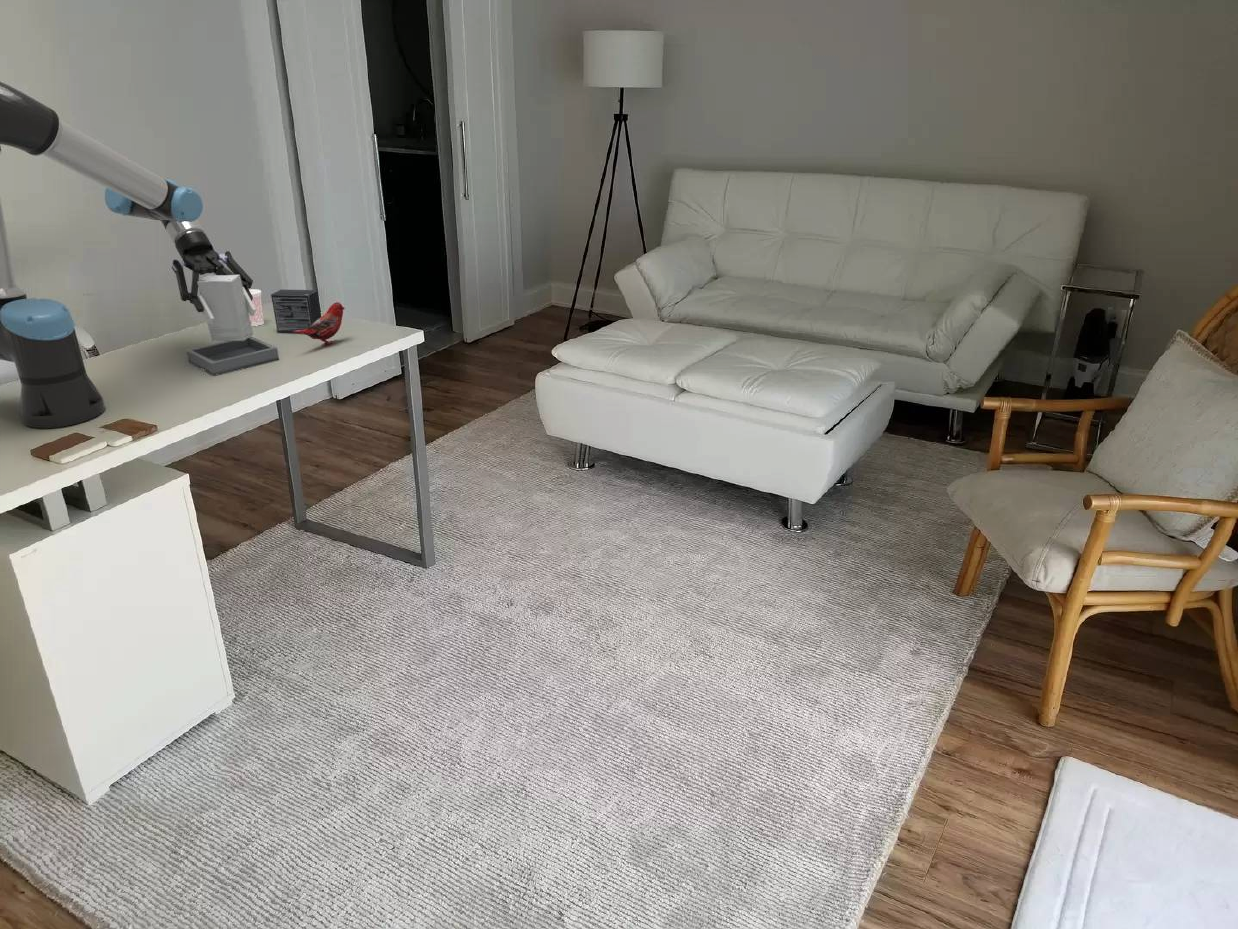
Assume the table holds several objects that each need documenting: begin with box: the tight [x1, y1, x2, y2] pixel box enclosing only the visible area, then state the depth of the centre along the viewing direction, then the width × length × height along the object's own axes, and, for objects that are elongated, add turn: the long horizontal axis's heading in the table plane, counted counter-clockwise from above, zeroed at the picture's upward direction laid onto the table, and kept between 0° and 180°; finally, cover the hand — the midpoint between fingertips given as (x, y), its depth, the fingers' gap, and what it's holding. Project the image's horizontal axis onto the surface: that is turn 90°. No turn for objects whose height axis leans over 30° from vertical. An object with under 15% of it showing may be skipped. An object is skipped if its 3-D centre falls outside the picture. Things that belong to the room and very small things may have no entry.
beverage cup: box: [246, 272, 265, 327], centre depth 242 cm, size 6×6×14 cm
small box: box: [270, 289, 322, 334], centre depth 238 cm, size 11×6×10 cm, turn 84°
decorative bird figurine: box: [291, 301, 345, 347], centre depth 225 cm, size 3×18×10 cm, turn 149°
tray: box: [186, 336, 280, 376], centre depth 217 cm, size 16×14×3 cm
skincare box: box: [197, 274, 254, 342], centre depth 212 cm, size 8×6×15 cm
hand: (232, 317), depth 211 cm, fingers closed on skincare box, 9 cm apart
